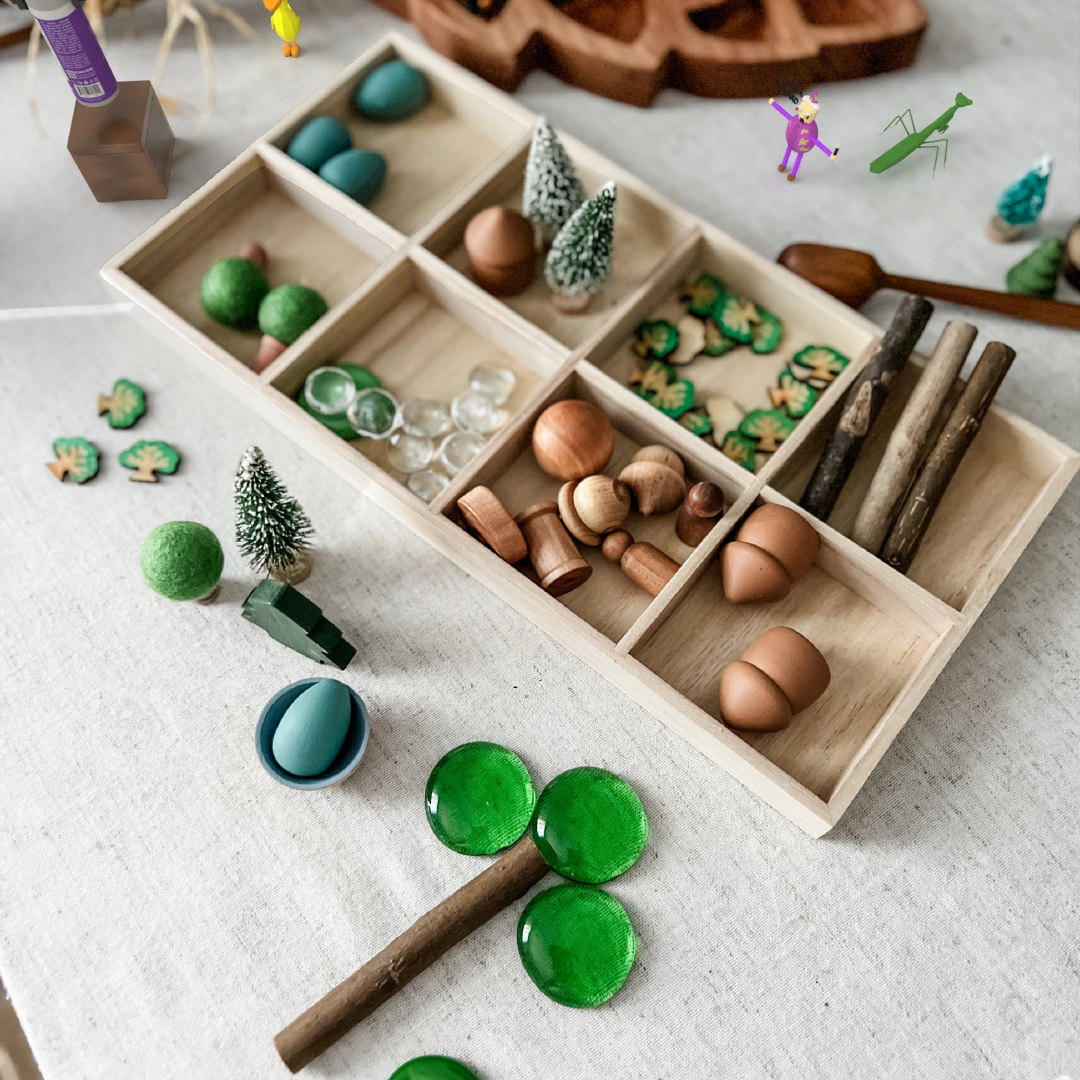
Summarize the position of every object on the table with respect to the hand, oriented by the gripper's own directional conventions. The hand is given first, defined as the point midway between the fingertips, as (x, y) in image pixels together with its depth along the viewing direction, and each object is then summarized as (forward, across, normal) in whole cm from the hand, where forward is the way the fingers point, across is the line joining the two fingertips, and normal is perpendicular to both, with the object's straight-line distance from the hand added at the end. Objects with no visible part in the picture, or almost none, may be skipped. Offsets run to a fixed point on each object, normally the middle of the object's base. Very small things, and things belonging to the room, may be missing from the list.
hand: (52, 2), depth 92 cm
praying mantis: (+21, -93, +4) cm, 95 cm away
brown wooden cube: (+21, 0, 0) cm, 21 cm away
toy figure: (+21, -18, -19) cm, 33 cm away
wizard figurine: (+21, -78, +6) cm, 81 cm away
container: (+11, 0, 0) cm, 11 cm away
